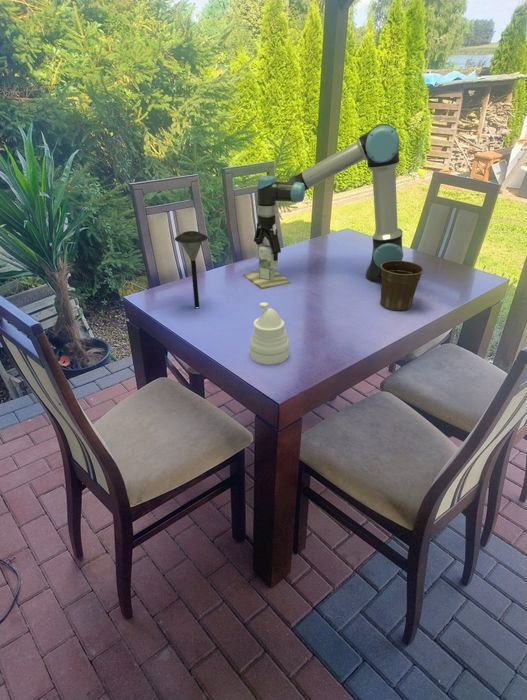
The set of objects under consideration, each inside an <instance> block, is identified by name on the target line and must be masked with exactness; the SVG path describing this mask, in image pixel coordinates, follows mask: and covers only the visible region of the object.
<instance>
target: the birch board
mask: <svg viewBox="0 0 527 700" xmlns="http://www.w3.org/2000/svg"><path fill="white" fill-rule="evenodd" d="M242 276H243V277H244V276H245V277H246V278H245V277H244V278H245V279H246V280H248V279H249V280H250V281H249V280H248V281H249V282H251V283H252V284H253V283H254V284H253V285H255V286H256V287H258V288H259V289H260V290H264V289H269V288H273V287H278V286H283V285H288V284H291V280H290V279H289V278H287V277H286V276H284V275H282V274H280V273H279V272H278V271H276V270H274V277H273V278H272V279H271V280H267V279H260V278H259V270H256V271H251V272H245V273H243V274H242Z"/></svg>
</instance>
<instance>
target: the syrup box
mask: <svg viewBox="0 0 527 700" xmlns="http://www.w3.org/2000/svg"><path fill="white" fill-rule="evenodd" d="M271 253H272V249H271V247H270V244H263V245H262V246H261V247H260V248H259V259H258V271H259V278H260V279H267V280H271V279H272V278H273V277H274V271H275V268H271Z"/></svg>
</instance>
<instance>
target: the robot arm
mask: <svg viewBox="0 0 527 700" xmlns="http://www.w3.org/2000/svg"><path fill="white" fill-rule="evenodd" d="M400 143H401V142H400V136H399V133H398V131H396V129H395V128H394V126H392V125H390V124H387V123H379V124H377V125H375V126H374V127H372V128H371V129H370V130H368V131H367V132H366V133H364V134H362V135H361V136H359V137H358V138H357V141H355V142H354V143H352V144H350V145H348V146H346V147H345V148H343V149H340V150H339V151H337V152H335V153H334V154H332V155H330V156H328V157H326V158H325V159H323V160H321V161H319V162H318V163H315V164H313V165H312V166H309V167H308V168H306V169H305V170H302V171H301V172H299V173H297V174H296V175H295V174H294V175H292V176H291V177H289V179H288V180H287V181H277V179H276V176H273V175H261V176H259V177H258V178H257V188H256V190H257V191H256V192H257V223H256V230H255V234H254V238H253V242H255V245H256V259H257V260H259V248H260V247H261V246H262V245H264V244H263V241H264V239H266V240H268V242H269V243H268V245H270V247H271V249H272V253H271V268H274V269H275V268H278V266H279V261H278V259H279V258H278V257H279V254H280V253H281V252H282V250H281V246H280V242H279V241H280V239H279V236H278V230H277V228H275V229H274V226H275V225H276V214H277V213H276V202H289V203H290V202H291V203H292V202H293V203H297V202H298V203H299V202H303V201H304V200H305V193H306V191H308V190H309V189H311V188H312V187H315V186H316V185H318V184H320V183H322V182H325V181H326V180H328V179H330V178H332V177H334V176H336V175H338V174H340V173H341V172H343V171H345V170H347V169H349V168H351V167H353V166H355V165H357V164H359V163H360V162H362V161H367V168H368V169H369V170H370V171H371V175H372V192H373V203H374V204H373V205H374V208H373V209H374V221H375V225H374V226H375V231H374V234H373V235H372V252H371V253H372V254H371V260H370V263H369V265H368V267H367V269H366V271H365V278H366V279H367V280H368V281H370V282H373V283H377V284H382V276H381V267H380V266H381V264H382V263H383V262H387V261H394V260H398V261H403V258H404V251H403V230H402V229H401V228H399V227H398V225H399V224H398V206H397V204H398V203H397V180H396V179H397V178H396V167H397V166H398V164H399V163H400Z"/></svg>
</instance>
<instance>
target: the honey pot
mask: <svg viewBox="0 0 527 700" xmlns="http://www.w3.org/2000/svg"><path fill="white" fill-rule="evenodd" d="M259 306H260V309H261V310H262V313H261V314H260V316H259V317H258V318H255V320H254V321H253V323H252V325H253V327H254V328H253V330H252V334H251V337H250V339H249V355H250V358H251V359H252V360H253V361H254V362H256V363H258V364H262V365H269V366H270V365H271V366H272V365H278V364H280V363H283V362H285V361H286V360H287V359H288V357H289V356H290V355H289V353H290V352H289V351H290V340H289V338H288V337H289V336H288V334H287V331H286V329H285V321H284V320H283V319H281V317H280V316H279V314H278V312H277V311H276V310H275V309H273V308H271V307H270V308H269V303H268V302H264V301H263V302H260V303H259Z"/></svg>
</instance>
